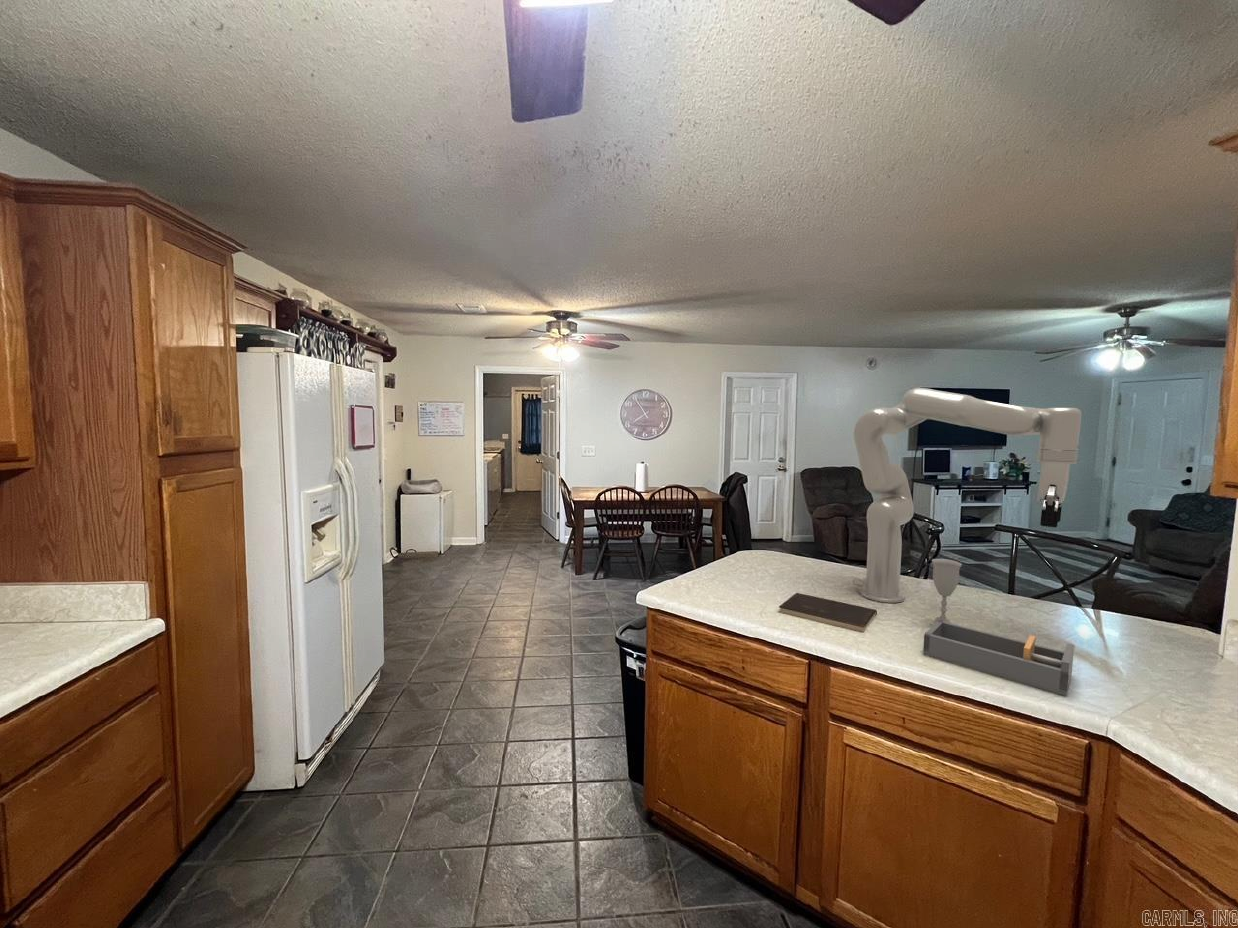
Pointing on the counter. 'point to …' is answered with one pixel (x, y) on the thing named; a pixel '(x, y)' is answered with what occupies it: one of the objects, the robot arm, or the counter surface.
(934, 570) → the chalice
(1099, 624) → the counter surface
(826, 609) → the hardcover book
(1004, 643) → the tray
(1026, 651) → the pusher
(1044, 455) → the robot arm
